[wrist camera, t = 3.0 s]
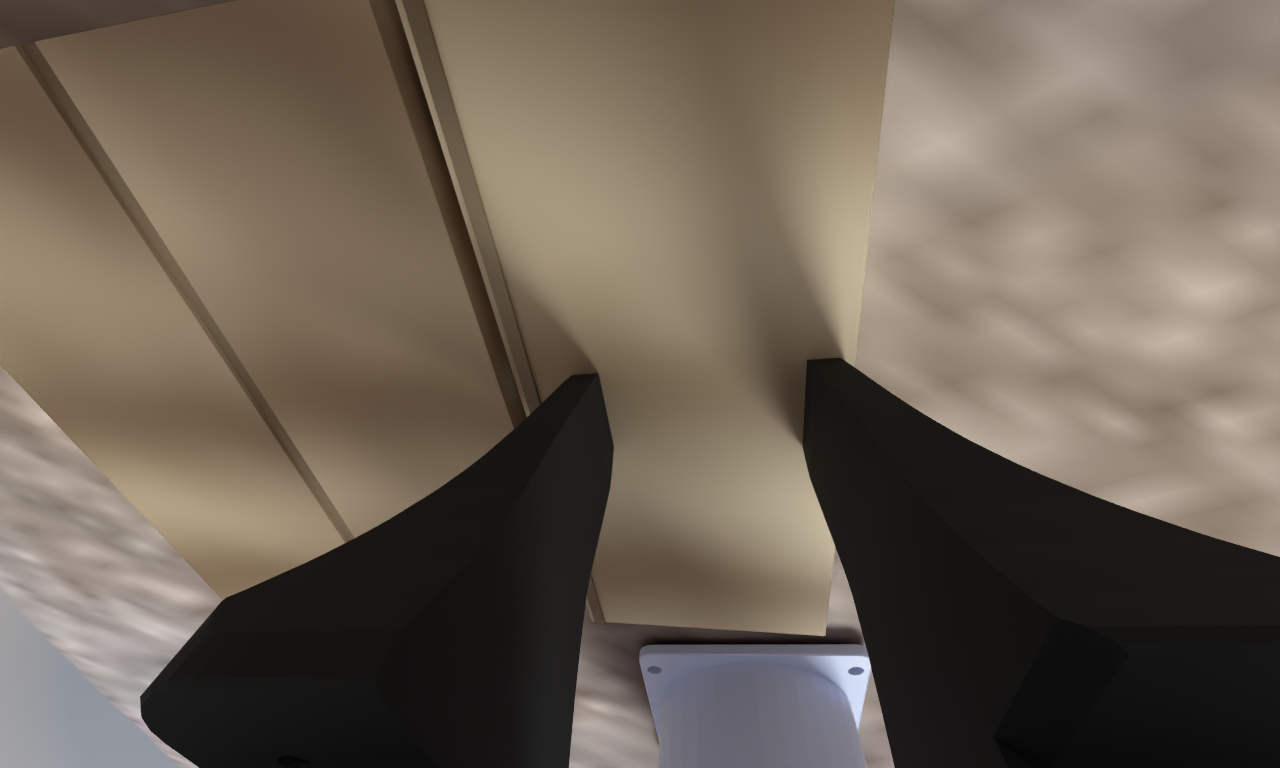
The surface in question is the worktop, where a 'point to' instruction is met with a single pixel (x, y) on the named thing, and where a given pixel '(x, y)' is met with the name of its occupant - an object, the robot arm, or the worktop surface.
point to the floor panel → (246, 275)
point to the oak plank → (674, 261)
